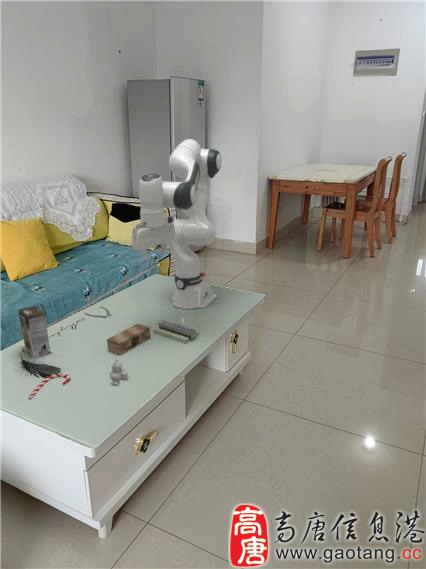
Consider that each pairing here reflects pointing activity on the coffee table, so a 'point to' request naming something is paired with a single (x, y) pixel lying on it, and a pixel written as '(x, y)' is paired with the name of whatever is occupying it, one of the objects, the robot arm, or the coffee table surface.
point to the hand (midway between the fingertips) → (154, 256)
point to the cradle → (172, 335)
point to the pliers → (100, 316)
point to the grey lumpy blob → (118, 372)
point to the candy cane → (47, 381)
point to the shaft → (178, 329)
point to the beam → (128, 339)
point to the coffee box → (34, 331)
